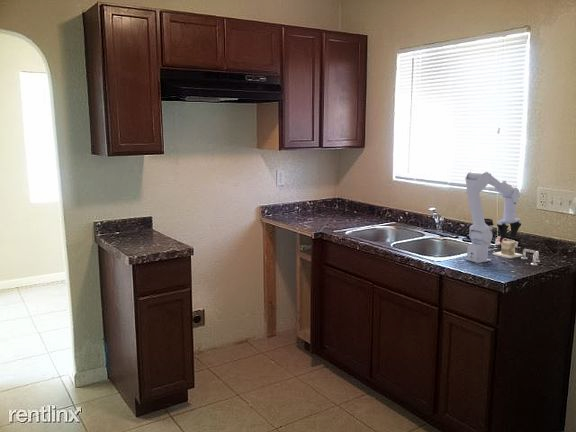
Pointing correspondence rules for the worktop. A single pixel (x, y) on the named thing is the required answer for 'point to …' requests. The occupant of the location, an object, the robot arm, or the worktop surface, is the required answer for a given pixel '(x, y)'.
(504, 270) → the worktop surface
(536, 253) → the grey white arch
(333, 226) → the worktop surface
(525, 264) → the worktop surface
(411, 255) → the worktop surface
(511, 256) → the cream pad
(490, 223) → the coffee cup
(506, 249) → the maple block
